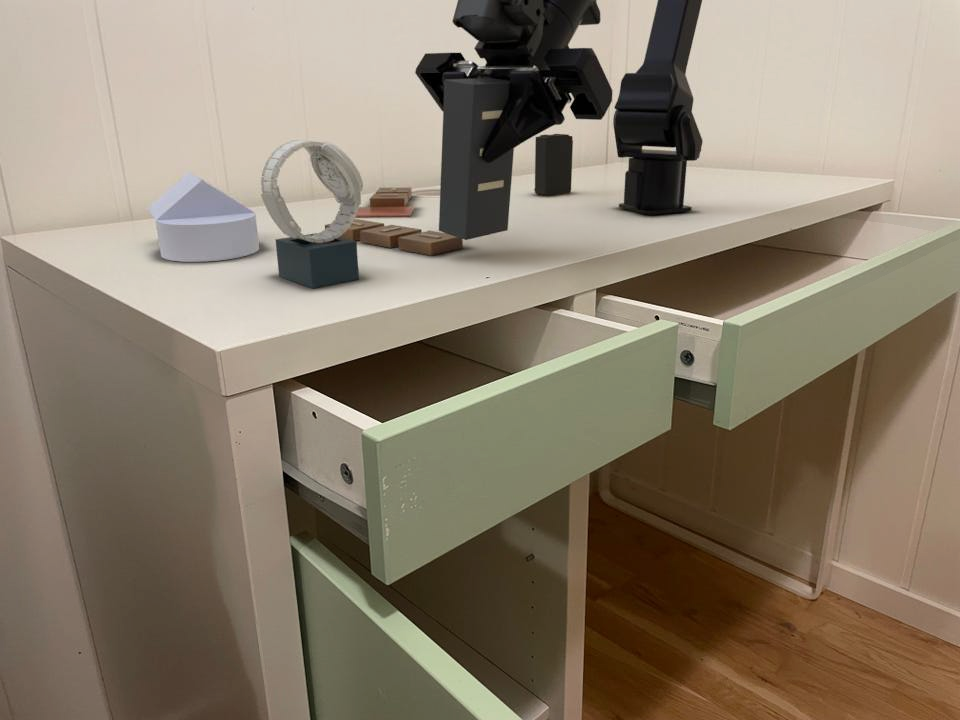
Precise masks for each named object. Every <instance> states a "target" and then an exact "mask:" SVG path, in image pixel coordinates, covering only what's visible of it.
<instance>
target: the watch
mask: <svg viewBox="0 0 960 720" xmlns="http://www.w3.org/2000/svg"><path fill="white" fill-rule="evenodd" d="M303 148H304V149H305V150H306V151H307V153H308V155H309V156H310V157H309V158H310V159H309V160H310V163H311V166H312V169H313V172H314V174H315V175H316V177H317V178H318V180H319V181H320V182H321V183H322V184H323V186H324V187H325V188H326V189H327V190H328V191H329V192H330V193H332V195H333V197H334V200H335V201H336V203H337V204H340V205H339V207H338V209H339V210H338V211H337V213H336V216H335V218H334V219H333V221H332V222H331V223H329V224H330V225H329V228H326V229H325V228H324V229H323V230H322V231H320V232H315V233H309V234H303V232H302V228H301V226H299V224H298V223H297V222H296V220H295V219H294V217H293V215H292V213H290V210H289V208H288V206H287V203H286V201H285V199H284V197H282V195H281V191H280V186H279V185H278V177H279V175H280V171H281V168H282V167H283V166H284V164H285V162H286V161H287V159H289V158H290V157H291V156H292V155H294V153H295V152H298V151H299V150H301V149H303ZM260 179H261V180H260V184H261V188H260V189H261V192H262V193H261V194H260V197H261V199H262V201H263V203H264V206H265V208H266V211H267V212H268V214H269V216H270V218H271V219H272V221H273V222H274V223H275V226H277V227H278V229H279V230H280V231H281V232H282V234H284V235H285V236H287V237H283V238H282V237H281V238H275V248H276V258H277V268H278V277H280V278H282V279H284V280H289V281H290V282H291V281H292V282H294V283H296V284H299V285H302V286H305V287H307V288H310V289H316V288H321V287H326V286H332V285H337V284H342V283H347V282H352V281H357V280H359V278H360V276H359V275H360V273H359V260H358V258H359V257H358V244H357V240H356V241H352V240H348V239H344V238H340V236H341V235H343V233H345V232H346V231H347V230H348V229H349V227H350V226H351V224H352V223H353V221H354V219H356V218H357V217H356V214H357V211H358V208H359V207H360V206H361V204H362V195H361V194H362V193H361V192H362V191H363V189H364V182H363V178H362V176H361V174H360V171H359V170H358V168H357V166H356V165H355V163H354V162H353V160H352V159H351V158H350V157H349V156H348V155H347V153H346V152H344V150H342V148H340V147H339V146H337V145H336V144H334V143H332V142H329V141H316V140H315V141H313V140H305V139H300V140H297V139H295V140H289V141H287V142H284V143H283V144H281V145H280V146H279V147H277V148H276V149H275V150H273V152H271V154H270V155H269V157H268V158H267V160H266V161H265V164H264V166H263V169H262V173H261V177H260Z"/></svg>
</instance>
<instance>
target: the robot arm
mask: <svg viewBox="0 0 960 720" xmlns="http://www.w3.org/2000/svg"><path fill="white" fill-rule="evenodd" d="M597 1H598V0H457V1H456V2H457V3H456V7H455V9H454V14H453V17H452V24H453V25H454V26H455V27H456V28H461V29H462V30H464V31H465V32H466V33H468V34H469V35H470V36H471V37H472V38H474V40H476V41H477V43H476V45H475V46H474V50H475V52H476V54H477V55H478V57H479V58H480V59H484V60H485V62H486V63H485V64H484V65H478V64H477V63H476V62H474V61H473V60H466V59H465V57H464V55H463V54H462V52H432V53H431V52H429V53H428V52H427V53H424V55H423V57H422V58H421V60H420V61H419V63H418V64H417V66H416V67H415V71H414V74H415V75H416V77H417V78H418V79H419V81H420V82H421V84H422V85H423V86H424V88H425V89H426V90H427V92H428V94H429V95H430V96H431V98H432V99H433V101H434V102H435V103H436V105H437V107H438V108H439V109H440V111H441V112H443V108H444V81H445V79H472V78H494V79H500V80H507V81H510V87H509V98H508V101H507V103H506V105H505V107H504V109H503V111H502V113H501V115H500V117H499V118H498V120H497V122H496V124H495V126H494V128H493V130H492V132H491V134H490V136H489V138H488V140H487V142H486V145H485V147H484V150H483V152H482V157H483V158H484V160H485V161H486V162H487V163H491V162H493V161H494V160H496V159H498V158H499V157H501V156H502V155H504V154H505V153H507V152H509V151H510V150H512V149H513V148H514V149H515V148H517V147H518V146H520V145H521V144H523V143H525V142H526V141H528V140H530V139H531V138H533V137H536V136H538V135H539V134H541V133H542V132H544V131H546V130H548V129H550V128H552V127H554V126H560V125H562V124H563V123H564V122H565V120H566V117H565V116H564V114H563V111H564V109H565V108H566V106H567V104H570V106H569V109H570V111H571V112H572V114H573V116H574V118H575V120H591V121H596V120H597V121H602V120H603V118H604V117H605V115H606V113H607V111H608V109H609V108H610V106H611V104H612V103H613V88H612V86H611V84H610V82H609V80H608V78H607V75H606V73H605V72H604V69H603V66H602V64H601V63H600V60H599V58H598V56H597V54H596V53H595V51H594V49H593V48H592V47H572V48H570V46H569V44H570V43H571V41H572V39H573V37H574V36H575V34H576V32H577V30H578V28H579V26H591V25H593V26H594V25H599V24H600V23H601V19H602V18H601V10H600V8H599V5H598V3H597ZM656 2H657V3H656V6H655V12H654V14H653V15H654V16H653V20H652V24H651V27H650V28H651V29H650V34H649V36H648V37H649V38H648V41H647V46H646V51H645V54H644V59H643V62H642V65H641V66H640V67H639V68H638V69H637V71H636V72H626V73H624V75H623V77H622V79H621V81H620V87H619V93H618V97H617V100H616V103H615V105H614V107H613V108H614V110H615V111H614V113H613V121H612V122H613V123H612V125H613V133H614V139H615V145H616V153H617V158H620V159H624V158H628V168H627V170H626V171H625V174H624V190H623V191H624V193H623V194H624V195H623V202H622V203H621V202H620V203H618V208H619V209H624V210H629V211H631V212H635V213H640V214H644V215H649V216H650V215H661V214H671V213H673V214H674V213H682V212H683V213H684V212H691V211H692V209H693V207H692V206H691V205H686V204H685V203H684V202H685V190H686V179H687V164H688V162H689V161H691V162H692V161H693V162H695V161H698V159H700V155H701V152H702V147H703V142H704V141H703V137H702V135H701V132H700V130H699V127H698V125H697V121H696V119H695V117H694V114H693V105H694V95H693V92H692V89H691V87H690V84H689V81H688V78H687V75H686V73H687V68H688V63H689V59H690V54H691V50H692V48H693V47H692V46H693V43H694V37H695V34H696V29H697V24H698V20H699V16H700V11H701V7H702V3H703V0H657V1H656ZM570 94H571V95H570ZM572 98H573V99H572ZM643 147H652V148H653V147H654V148H675V150H664V149H663V150H662V149H645V148H643Z"/></svg>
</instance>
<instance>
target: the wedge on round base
mask: <svg viewBox="0 0 960 720" xmlns="http://www.w3.org/2000/svg"><path fill="white" fill-rule="evenodd" d="M147 210H148V211H149V212H150V214H151V216H152V218H153V219H154V220H155V225H156V231H157V238H158V239H157V240H158V245H159V252H160V257H161V258H162V259H164V260H167V261H174V262H181V263H182V262H185V263H200V262H201V263H202V262H216V261H218V262H219V261H226V260H231V259H239V258H243V257H246V256H250V255H252V254H255V253H257V252H258V251H259V250H260V243H259V233H258V223H257V216H256V215H257V214H256V212H255V211H253V210H252V209H251V208H249V207H248V206H246V205H244V204H243V203H242V202H241V201H239V200H237V199H235V198H234V197H233V196H231V195H230V194H227V192H224V191H222V190H221V189H219V188H218V187H216V186H214V185H212V184H211V183H210V182H209V181H208V182H207V181H206V180H204V179H203V178H201V177H200V176H198V175H197V174H195V173H193V172H191V171H188V172H187V173H186V174H185V175H184V176H182V177H181V178H180V179H179V180H177V182H175V183H174V184H173V185H172V186H171V187H170V188H168V189H167V190H166V191H165V192H164V193H163V194H161V195H160V196H159V197H158V198H157V199H156V200H155V201H154V202H152V203H151V204H150V205H149V206H148V207H147Z"/></svg>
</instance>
